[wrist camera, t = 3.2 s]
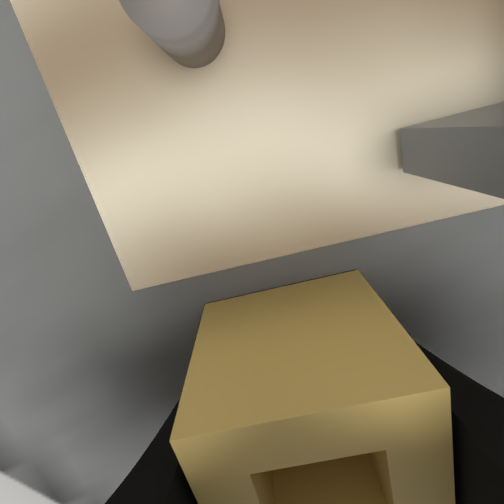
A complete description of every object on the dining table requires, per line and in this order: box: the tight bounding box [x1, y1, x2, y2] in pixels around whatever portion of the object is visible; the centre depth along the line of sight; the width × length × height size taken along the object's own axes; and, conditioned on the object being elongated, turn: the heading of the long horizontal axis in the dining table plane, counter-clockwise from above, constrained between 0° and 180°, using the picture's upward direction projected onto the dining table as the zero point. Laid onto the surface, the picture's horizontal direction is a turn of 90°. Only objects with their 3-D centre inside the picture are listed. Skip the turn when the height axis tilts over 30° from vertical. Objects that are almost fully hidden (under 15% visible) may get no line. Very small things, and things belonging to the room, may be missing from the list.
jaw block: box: [169, 270, 455, 504], centre depth 9 cm, size 5×5×5 cm
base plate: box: [10, 0, 504, 291], centre depth 6 cm, size 10×13×4 cm
